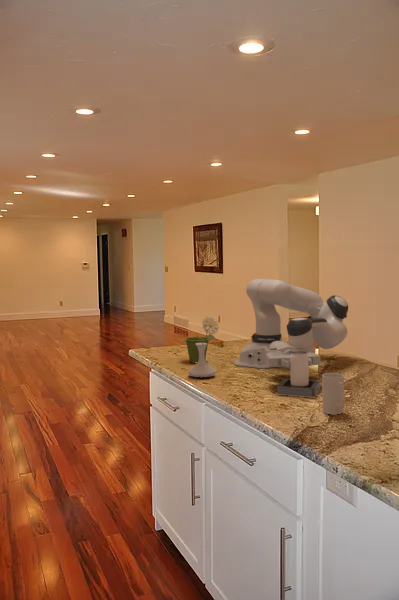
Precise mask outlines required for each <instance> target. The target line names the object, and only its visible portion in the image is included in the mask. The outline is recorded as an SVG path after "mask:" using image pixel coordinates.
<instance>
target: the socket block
mask: <svg viewBox="0 0 399 600" xmlns="http://www.w3.org/2000/svg"><path fill="white" fill-rule="evenodd" d="M320 384H321V383H320V381H319V380H314V379H313V380H312V379H309V384H308V386H305V387H296V386H292V385H291V378H285V379H282V380H281V381H280V383H278V384H277V386H276V388H277V391H276V392H275V394H276V395H275V396H279V395H288V396H287V397H292V396H299V397H298V398H304V397H309V398H308V399H316V398H317V396H316V395H318V394H319V393H318V392H320V391H321V390H322V386H321V385H320Z"/></svg>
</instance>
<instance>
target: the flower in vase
mask: <svg viewBox="0 0 399 600" xmlns="http://www.w3.org/2000/svg"><path fill="white" fill-rule="evenodd" d="M201 325H202V329H203V330H204V331H205V336H204V337H205V338H206V337H207V338H208V339H209V341H213V340H215V339H216V337H215V336H214V335H215V334H216V333H217V332H219V323H218V322H217V320H215V318H214V317H212V316H206V317H204V319H202V324H201ZM196 337H197V339H199V340H203V342H204V340H205V338H204V339H203V338H200V337H201V336H198V335H196ZM203 342H202V343H196V346H197V347H198V351H199V361H198V363H196V364H194V365H193V366H191V368H190V369H189V370H188V375H189V376H191V377H193V378H199V377H200V378H199V379H201V378H202V379H203V377H204V378H210V377H213V376H215V375H216V370H215V369H214V368H213V367H212V366H211V365H210V364H209V363H208V362H206V359H205V358H204V353H205V348H206V346H207V343H203ZM207 347H208V346H207Z"/></svg>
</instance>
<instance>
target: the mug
mask: <svg viewBox="0 0 399 600" xmlns="http://www.w3.org/2000/svg"><path fill="white" fill-rule="evenodd" d="M344 377H345V375H344V374H341V373H336V372H328V373H323V374H321V390H322V391H321V392H322V393H321V395H322V396H321V397H322V403H321V404H322V412H324V413H323V414H325V413H326V415H328V414H331V415H330V416H338V415H337V414H340V415H342V414H343V413H344V404H345V403H344V402H345V386H344V385H345V380H344V379H345V378H344ZM341 413H342V414H341Z"/></svg>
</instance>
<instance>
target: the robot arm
mask: <svg viewBox="0 0 399 600" xmlns="http://www.w3.org/2000/svg"><path fill="white" fill-rule="evenodd" d="M246 295H247V297H248V298H249V299H250V301H251V304H252V307H253V310H254V311H253V312H254V315H255V316H254V317H255V332H254V333H252V334H251V338H250V340H252V341H251V342H249V344H247V345H246V346H244V347H243V348H242V349H241V350H240V352H239V357H238V359H236V360H235V361H234V365H235V366H237V367H246V368H256V369H257V368H258V369H270V368H282V369H283V368H284V369H287V370H288V369H289V370H290V367H291V362H290V356H291V354H292V353H291V352H294V351H304V352H307V355H308V367H312V366H319V365H320V364H321V355H320V354H317V353H315V344H316V346H318V347H319V348H321V349H323V350H329V349H333V348H336V347H337V346H338V345H340V344H341V343H342V342H344V340H345V339H346V337H347V336H348V327H347V326H346V325H345V323H343V321H344V320H345V319H346V318H347V317H348V315H347V314H348V312H349V303H348V302H347V301H346V300H345V298H343V297H342V296H339V295H334V294H333V295H331V296H329V298H327V299H326V301H325V302H324V301H323V297H322V296H321V295H320V294H319V293H317V292H315V291H313V290H310V289H307V288H304V287H301V286H296V285H293V284H291V283H288V282H287V281H283V280H281V279H275V278H274V279H273V278H265V277H264V278H261V277H260V278H255V279H252V280H250V282H248V283H247V285H246ZM276 306H279V307H283V308H284V309H288V310H291V311H292V310H293V311H296V312H299V313H305V314H307V315H308V317H307V318H306V317H295V318H292V319H290V320H289V321H288V323H287V324H286V330H287V335H288V343H287V342H286V341H285V342H284V341H283V336H282V333H281V332H282V331H281V322H282V319H281V315H280V314H279V312H278V310H277V308H276ZM314 343H315V344H314Z"/></svg>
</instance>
